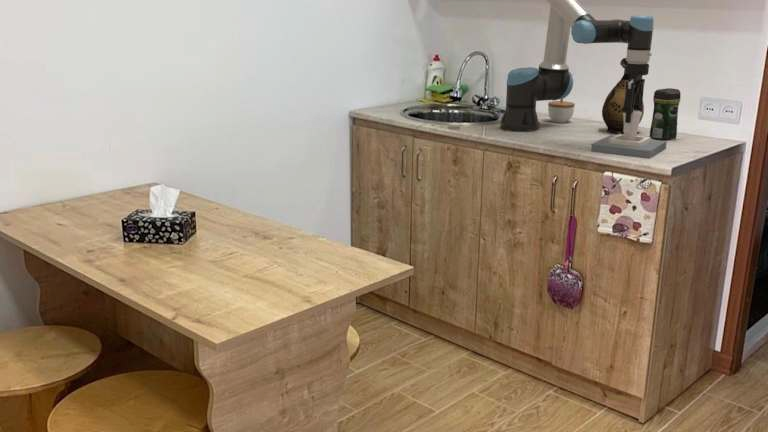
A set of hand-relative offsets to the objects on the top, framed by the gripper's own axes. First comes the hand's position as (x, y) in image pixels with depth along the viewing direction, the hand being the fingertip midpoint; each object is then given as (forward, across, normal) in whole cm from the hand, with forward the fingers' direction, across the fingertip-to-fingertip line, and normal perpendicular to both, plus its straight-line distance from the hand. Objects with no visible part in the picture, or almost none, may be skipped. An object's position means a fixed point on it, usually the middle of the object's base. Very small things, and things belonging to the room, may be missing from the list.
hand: (630, 130), depth 266 cm
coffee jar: (+7, +28, -4) cm, 29 cm away
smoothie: (+4, 0, 0) cm, 4 cm away
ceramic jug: (+7, +33, +13) cm, 36 cm away
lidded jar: (+7, +40, +41) cm, 58 cm away
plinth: (+7, 0, 0) cm, 7 cm away
